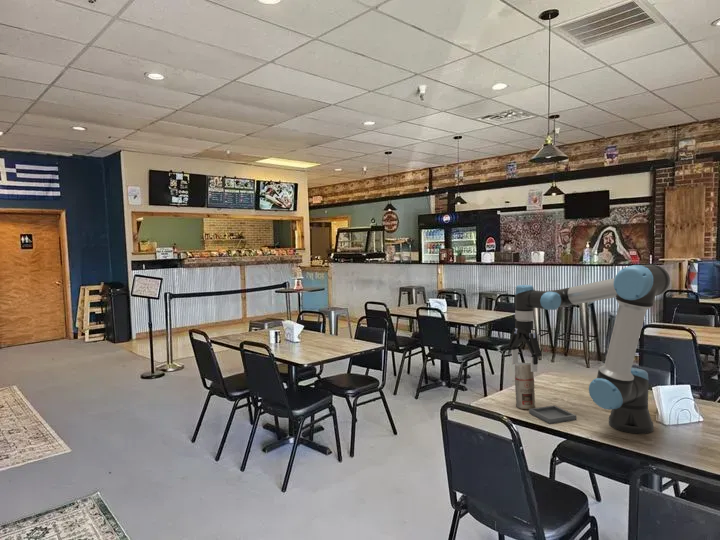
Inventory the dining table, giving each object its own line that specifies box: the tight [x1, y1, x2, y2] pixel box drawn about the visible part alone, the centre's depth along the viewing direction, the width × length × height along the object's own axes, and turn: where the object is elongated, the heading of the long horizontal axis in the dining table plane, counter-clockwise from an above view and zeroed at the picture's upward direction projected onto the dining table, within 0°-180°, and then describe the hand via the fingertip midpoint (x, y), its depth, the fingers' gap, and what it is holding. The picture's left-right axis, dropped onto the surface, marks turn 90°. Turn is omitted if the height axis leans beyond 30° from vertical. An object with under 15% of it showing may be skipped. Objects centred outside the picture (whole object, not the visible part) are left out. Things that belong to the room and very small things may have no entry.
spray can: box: [514, 362, 536, 410], centre depth 206 cm, size 8×8×20 cm
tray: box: [528, 405, 577, 425], centre depth 193 cm, size 13×13×2 cm
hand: (524, 367), depth 206 cm, fingers open, 13 cm apart
